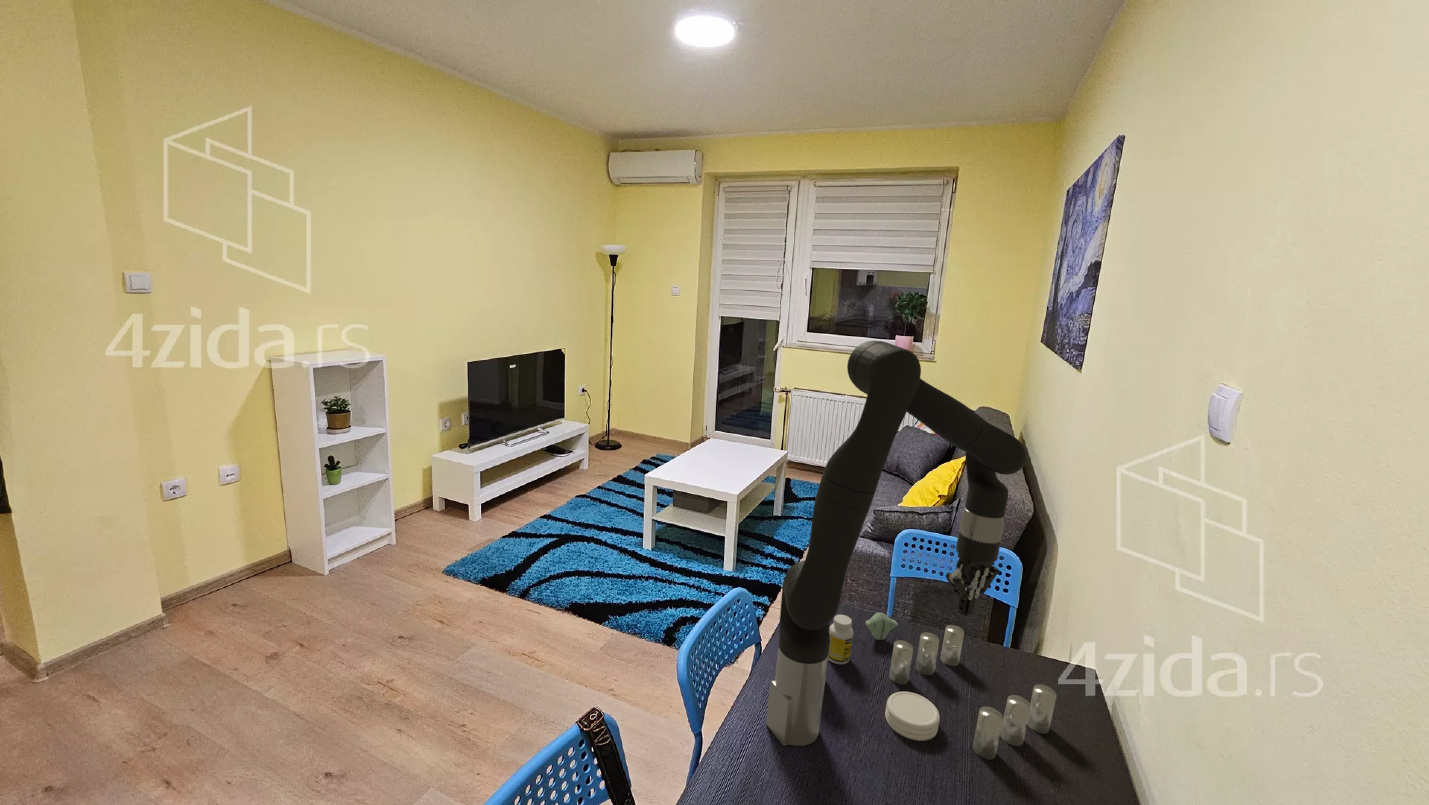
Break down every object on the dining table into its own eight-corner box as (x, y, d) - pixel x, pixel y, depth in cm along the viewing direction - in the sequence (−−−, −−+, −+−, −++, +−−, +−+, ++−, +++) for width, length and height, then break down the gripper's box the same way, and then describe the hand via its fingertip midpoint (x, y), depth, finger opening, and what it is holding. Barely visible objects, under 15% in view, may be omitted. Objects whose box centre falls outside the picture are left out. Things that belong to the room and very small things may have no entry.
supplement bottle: (844, 668, 133) (850, 629, 131) (822, 659, 136) (826, 620, 133) (853, 656, 137) (858, 618, 135) (830, 647, 140) (835, 609, 138)
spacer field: (985, 762, 109) (993, 724, 107) (885, 675, 132) (890, 642, 130) (1053, 730, 119) (1061, 695, 117) (948, 653, 141) (953, 623, 139)
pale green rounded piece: (865, 644, 142) (868, 619, 141) (859, 634, 146) (862, 609, 145) (896, 643, 143) (900, 618, 142) (889, 633, 147) (893, 609, 146)
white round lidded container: (943, 720, 119) (946, 705, 119) (929, 751, 111) (932, 734, 111) (894, 698, 125) (896, 683, 124) (877, 725, 117) (879, 709, 116)
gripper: (973, 546, 109) (957, 630, 113) (1019, 536, 115) (1003, 616, 119) (940, 529, 115) (926, 610, 119) (986, 520, 121) (972, 597, 125)
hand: (965, 613), depth 119 cm, fingers closed
